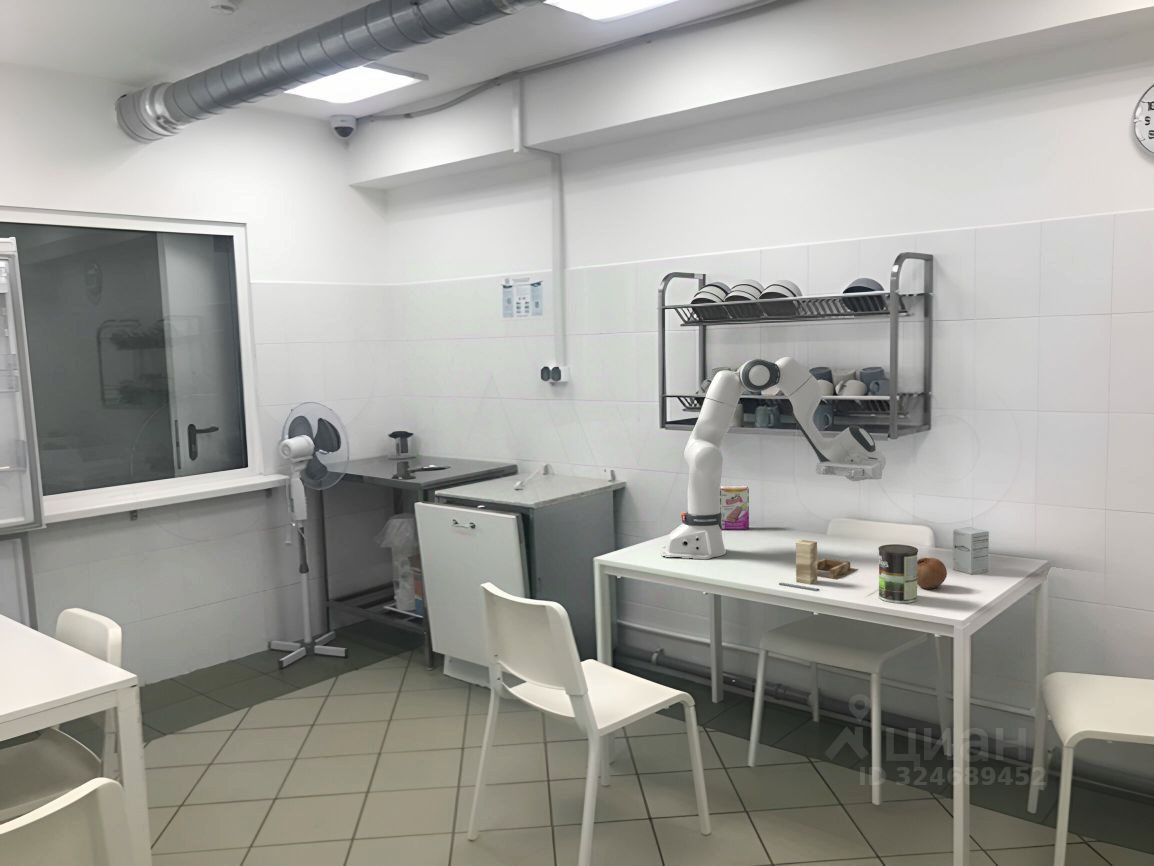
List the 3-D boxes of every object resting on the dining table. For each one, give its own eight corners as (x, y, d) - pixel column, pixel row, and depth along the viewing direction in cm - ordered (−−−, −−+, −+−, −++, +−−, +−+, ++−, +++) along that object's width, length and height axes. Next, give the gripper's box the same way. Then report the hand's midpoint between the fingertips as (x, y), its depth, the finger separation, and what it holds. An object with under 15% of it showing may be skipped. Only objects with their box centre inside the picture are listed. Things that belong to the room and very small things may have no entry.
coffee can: (885, 604, 244) (885, 553, 242) (873, 593, 254) (873, 544, 253) (923, 603, 244) (923, 552, 242) (910, 592, 254) (910, 543, 252)
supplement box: (952, 569, 277) (952, 529, 276) (970, 566, 280) (970, 526, 279) (971, 574, 270) (971, 533, 269) (989, 571, 273) (989, 530, 272)
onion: (920, 600, 256) (908, 571, 254) (916, 583, 265) (904, 555, 263) (954, 590, 253) (942, 561, 251) (949, 573, 262) (936, 544, 259)
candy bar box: (720, 530, 346) (719, 488, 344) (719, 527, 351) (718, 486, 349) (749, 530, 345) (749, 487, 343) (748, 527, 350) (747, 485, 348)
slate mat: (816, 590, 259) (816, 589, 259) (779, 584, 267) (778, 583, 267) (835, 581, 268) (835, 580, 268) (798, 576, 276) (798, 574, 276)
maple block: (810, 584, 264) (809, 544, 263) (796, 582, 267) (795, 542, 266) (817, 581, 267) (817, 541, 266) (803, 579, 270) (803, 539, 269)
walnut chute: (836, 581, 268) (836, 571, 268) (800, 575, 276) (800, 565, 276) (858, 570, 279) (858, 561, 279) (823, 565, 287) (823, 556, 287)
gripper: (826, 455, 300) (806, 460, 290) (886, 459, 286) (867, 464, 276) (826, 474, 300) (807, 480, 290) (886, 479, 287) (867, 485, 277)
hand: (837, 472), depth 283 cm, fingers open, 8 cm apart
